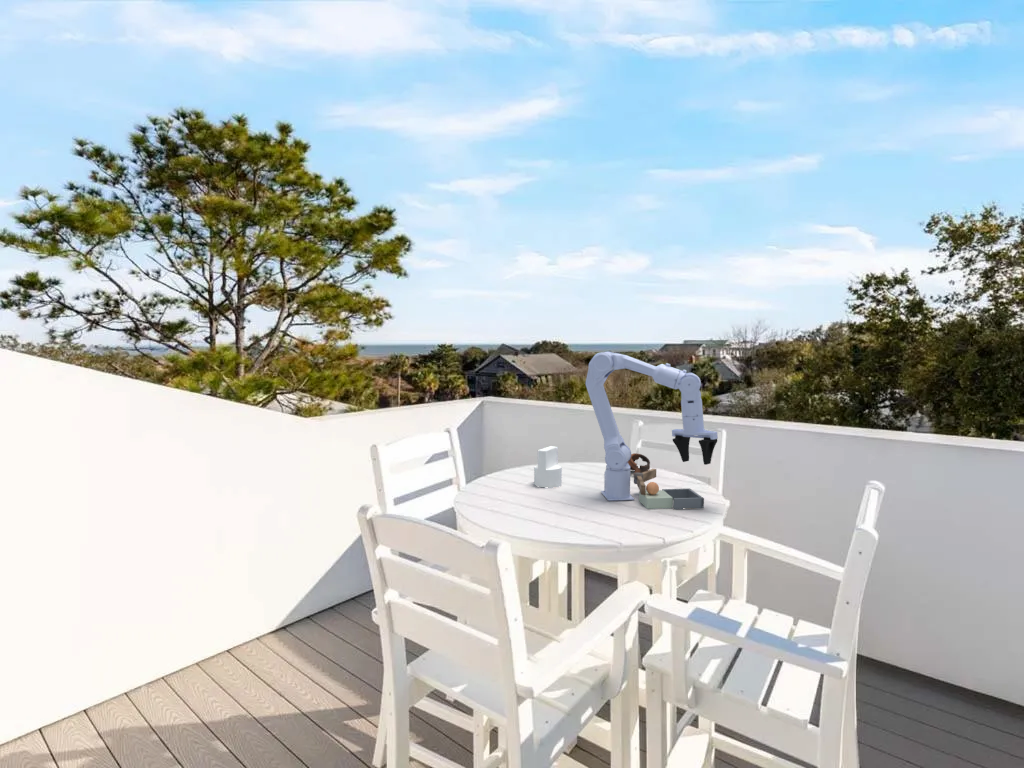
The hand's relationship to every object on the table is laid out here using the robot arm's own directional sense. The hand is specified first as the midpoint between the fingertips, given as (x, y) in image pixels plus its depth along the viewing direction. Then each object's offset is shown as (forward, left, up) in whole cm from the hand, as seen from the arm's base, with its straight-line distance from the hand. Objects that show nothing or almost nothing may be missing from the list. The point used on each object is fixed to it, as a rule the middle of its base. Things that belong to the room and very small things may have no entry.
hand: (696, 462), depth 170 cm
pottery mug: (-38, -8, -13) cm, 41 cm away
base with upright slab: (-26, -39, -13) cm, 49 cm away
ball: (-1, -12, -7) cm, 14 cm away
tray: (-1, -4, -12) cm, 13 cm away
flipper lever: (-10, -11, -9) cm, 17 cm away
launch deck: (-1, -11, -12) cm, 17 cm away
